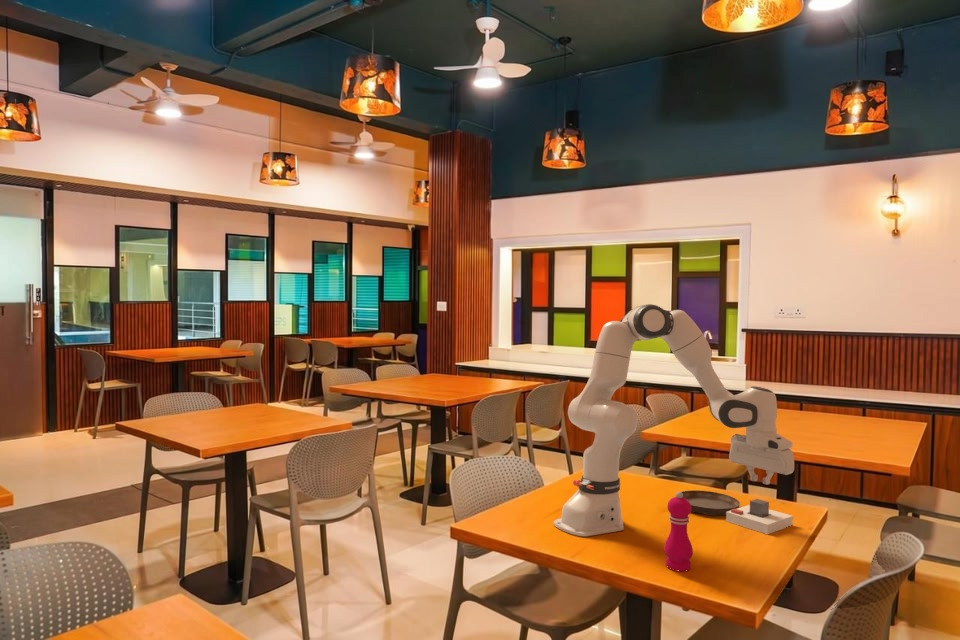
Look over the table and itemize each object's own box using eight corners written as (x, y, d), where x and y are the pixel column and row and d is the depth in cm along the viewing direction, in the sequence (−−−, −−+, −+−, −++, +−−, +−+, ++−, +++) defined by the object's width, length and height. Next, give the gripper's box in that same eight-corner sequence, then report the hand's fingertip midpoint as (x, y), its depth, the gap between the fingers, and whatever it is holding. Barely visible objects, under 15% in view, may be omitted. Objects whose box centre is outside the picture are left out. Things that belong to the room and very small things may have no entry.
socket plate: (767, 534, 195) (767, 522, 195) (726, 521, 206) (726, 509, 206) (792, 525, 203) (792, 513, 203) (751, 513, 214) (751, 501, 214)
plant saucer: (701, 495, 234) (702, 486, 234) (752, 511, 217) (753, 501, 217) (662, 504, 223) (662, 495, 223) (712, 522, 206) (713, 512, 206)
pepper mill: (686, 561, 174) (688, 487, 173) (696, 572, 167) (698, 495, 166) (660, 561, 174) (661, 487, 173) (669, 572, 167) (670, 495, 166)
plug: (761, 526, 202) (761, 504, 201) (749, 522, 205) (749, 500, 205) (768, 524, 204) (768, 502, 204) (756, 520, 207) (757, 498, 207)
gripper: (725, 433, 210) (724, 476, 211) (786, 445, 193) (785, 491, 194) (737, 431, 214) (736, 473, 214) (797, 443, 197) (796, 488, 198)
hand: (760, 482), depth 204 cm, fingers open, 3 cm apart
